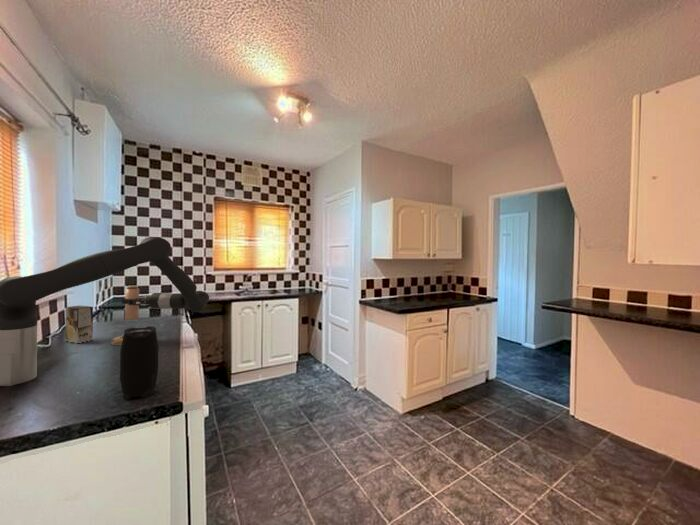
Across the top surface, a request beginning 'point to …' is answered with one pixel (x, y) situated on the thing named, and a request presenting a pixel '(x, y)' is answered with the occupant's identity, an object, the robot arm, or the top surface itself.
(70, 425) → the top surface
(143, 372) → the portable speaker
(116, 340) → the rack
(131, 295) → the jar
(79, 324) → the coffee box
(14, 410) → the top surface
